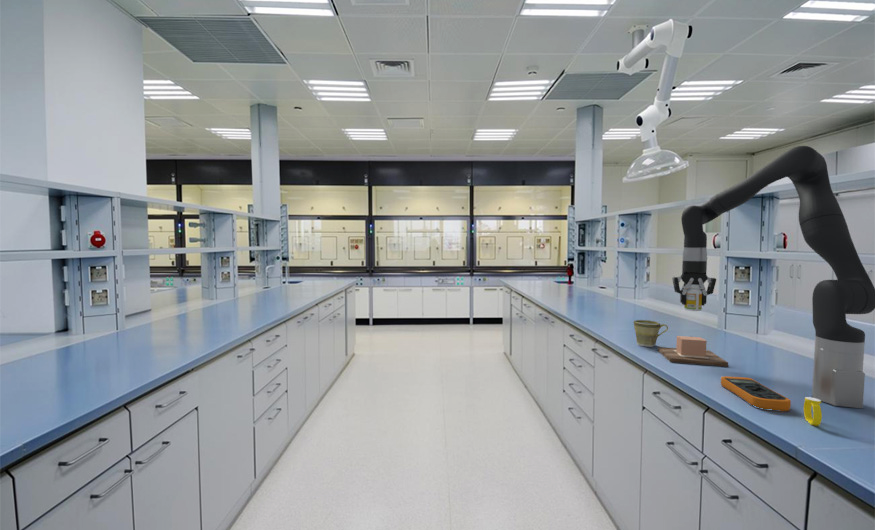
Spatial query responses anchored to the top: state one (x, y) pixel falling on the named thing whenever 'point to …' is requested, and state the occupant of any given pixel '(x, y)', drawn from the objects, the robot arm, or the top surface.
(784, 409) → the multimeter
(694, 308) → the supplement bottle
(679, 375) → the top surface
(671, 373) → the top surface
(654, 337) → the ceramic cup
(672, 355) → the walnut board
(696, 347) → the terracotta block
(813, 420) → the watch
